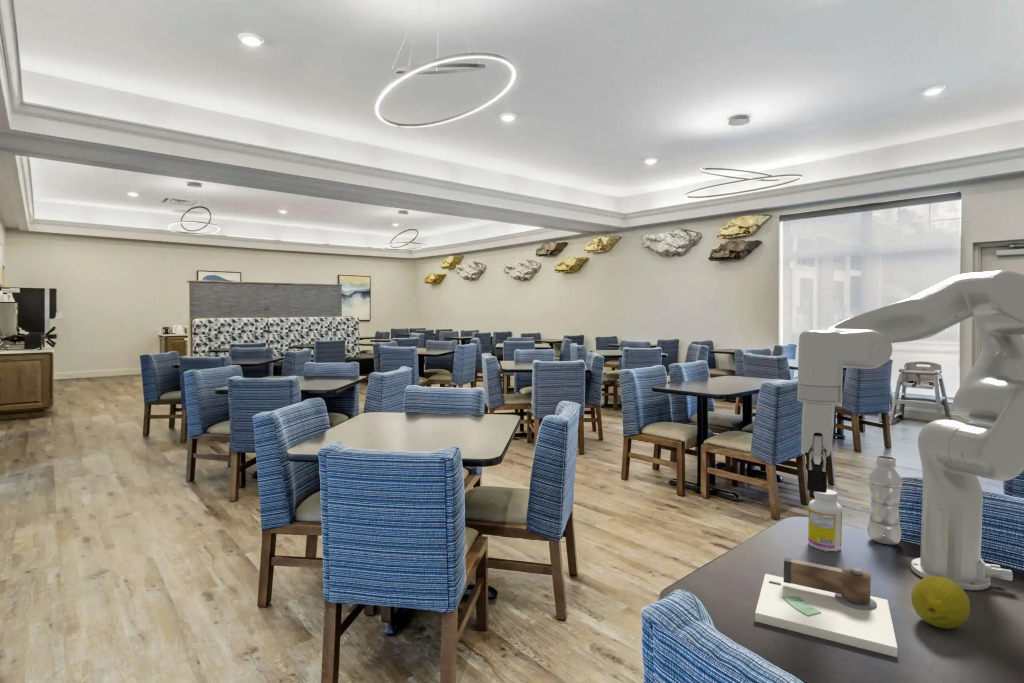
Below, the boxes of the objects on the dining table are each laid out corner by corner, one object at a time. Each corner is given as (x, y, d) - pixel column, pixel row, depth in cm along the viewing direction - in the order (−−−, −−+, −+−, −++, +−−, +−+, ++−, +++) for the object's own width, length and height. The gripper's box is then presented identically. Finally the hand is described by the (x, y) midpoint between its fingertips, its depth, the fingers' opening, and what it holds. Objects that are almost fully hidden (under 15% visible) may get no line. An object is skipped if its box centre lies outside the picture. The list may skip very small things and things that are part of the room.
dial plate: (887, 607, 99) (887, 598, 99) (897, 657, 84) (897, 646, 84) (765, 581, 109) (765, 572, 109) (755, 621, 94) (755, 611, 94)
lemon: (926, 607, 99) (928, 563, 99) (980, 627, 93) (982, 581, 92) (896, 623, 94) (898, 577, 94) (951, 646, 87) (953, 597, 87)
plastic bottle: (906, 549, 125) (909, 461, 124) (873, 546, 126) (876, 460, 126) (893, 538, 131) (895, 455, 131) (861, 536, 133) (864, 453, 132)
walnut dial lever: (869, 595, 99) (870, 568, 99) (870, 606, 95) (871, 577, 95) (784, 577, 106) (785, 551, 106) (782, 586, 102) (783, 560, 102)
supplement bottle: (823, 539, 130) (824, 485, 130) (848, 550, 124) (849, 494, 124) (801, 543, 128) (802, 488, 128) (825, 554, 122) (827, 497, 121)
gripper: (799, 388, 115) (797, 473, 116) (795, 398, 100) (792, 495, 101) (841, 390, 112) (839, 478, 112) (843, 401, 97) (840, 502, 97)
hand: (817, 485), depth 107 cm, fingers open, 6 cm apart
